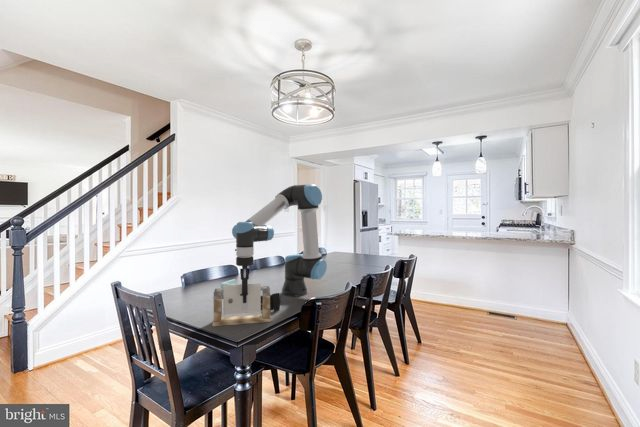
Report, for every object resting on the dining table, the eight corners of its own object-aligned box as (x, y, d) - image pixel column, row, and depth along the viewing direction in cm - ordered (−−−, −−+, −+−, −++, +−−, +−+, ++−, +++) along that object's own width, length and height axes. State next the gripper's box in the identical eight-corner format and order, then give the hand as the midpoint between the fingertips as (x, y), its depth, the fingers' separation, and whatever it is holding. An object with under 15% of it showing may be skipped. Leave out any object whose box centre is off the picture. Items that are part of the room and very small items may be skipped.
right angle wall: (237, 298, 176) (237, 285, 176) (220, 295, 181) (220, 283, 181) (250, 293, 187) (250, 280, 187) (234, 290, 192) (234, 279, 192)
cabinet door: (266, 309, 142) (266, 283, 142) (267, 312, 138) (267, 285, 138) (216, 312, 137) (216, 285, 137) (215, 316, 133) (215, 288, 133)
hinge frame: (270, 317, 144) (270, 285, 144) (271, 321, 138) (271, 289, 138) (213, 321, 138) (213, 288, 138) (212, 326, 132) (212, 292, 132)
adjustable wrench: (255, 308, 171) (281, 310, 153) (250, 310, 169) (276, 311, 151) (253, 293, 172) (279, 292, 154) (249, 294, 170) (274, 293, 152)
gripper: (236, 253, 145) (236, 303, 146) (235, 259, 129) (235, 315, 129) (253, 253, 147) (252, 302, 147) (253, 258, 131) (253, 313, 131)
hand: (244, 308), depth 138 cm, fingers closed on cabinet door, 3 cm apart
